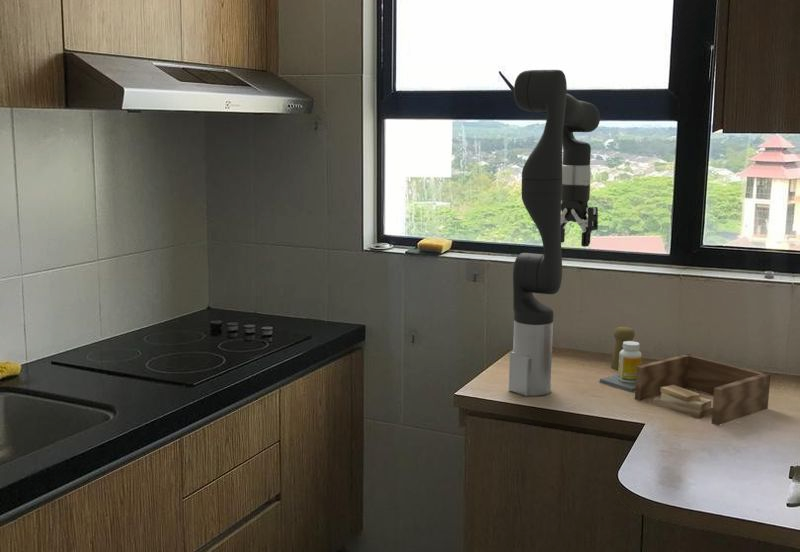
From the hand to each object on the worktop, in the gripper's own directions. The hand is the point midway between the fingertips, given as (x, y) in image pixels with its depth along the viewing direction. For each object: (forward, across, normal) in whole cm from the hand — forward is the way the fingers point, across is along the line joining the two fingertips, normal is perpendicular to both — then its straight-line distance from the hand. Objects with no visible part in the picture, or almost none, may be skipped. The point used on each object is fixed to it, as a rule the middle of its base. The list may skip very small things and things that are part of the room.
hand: (572, 244), depth 232 cm
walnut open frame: (+32, +42, -2) cm, 53 cm away
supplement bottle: (+32, +22, -2) cm, 39 cm away
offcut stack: (+32, +42, -8) cm, 53 cm away
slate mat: (+32, +22, -2) cm, 39 cm away
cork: (+32, +12, +8) cm, 35 cm away
